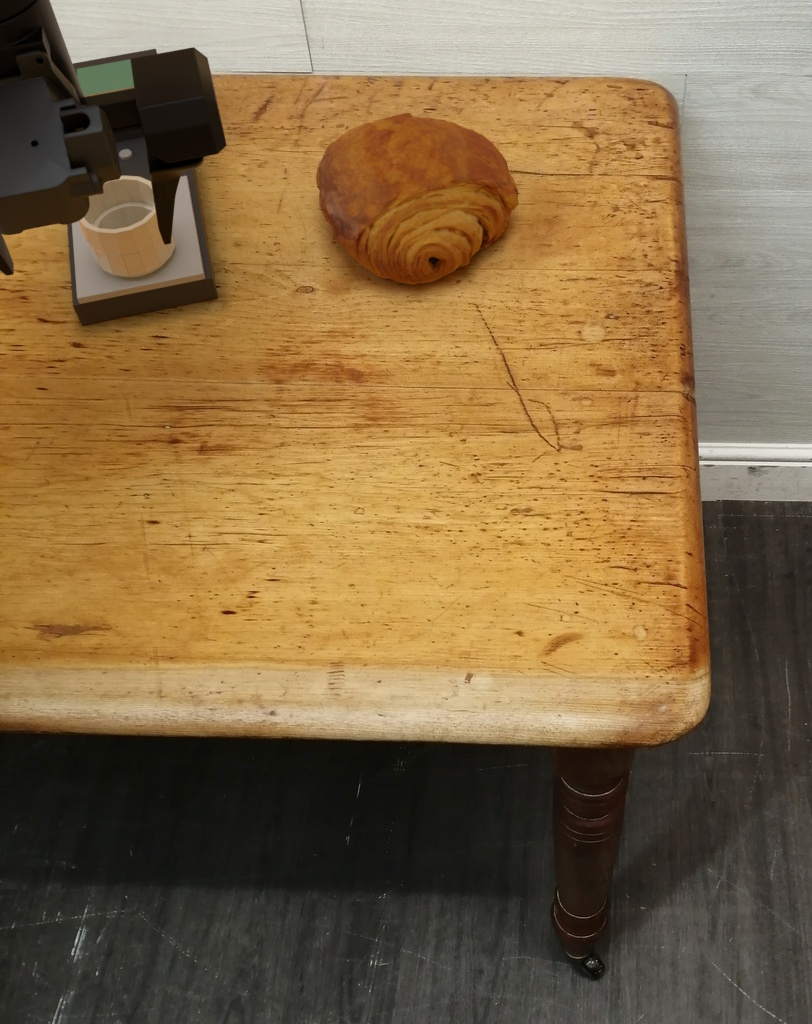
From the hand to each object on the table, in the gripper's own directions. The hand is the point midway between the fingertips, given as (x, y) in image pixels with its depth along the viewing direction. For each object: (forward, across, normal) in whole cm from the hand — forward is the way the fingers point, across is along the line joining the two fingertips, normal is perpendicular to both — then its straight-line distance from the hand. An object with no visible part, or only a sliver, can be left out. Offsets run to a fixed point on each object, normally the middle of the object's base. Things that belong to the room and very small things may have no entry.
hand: (89, 254), depth 58 cm
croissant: (+12, +22, +11) cm, 27 cm away
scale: (+12, +1, +20) cm, 23 cm away
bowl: (+9, +1, +10) cm, 14 cm away
